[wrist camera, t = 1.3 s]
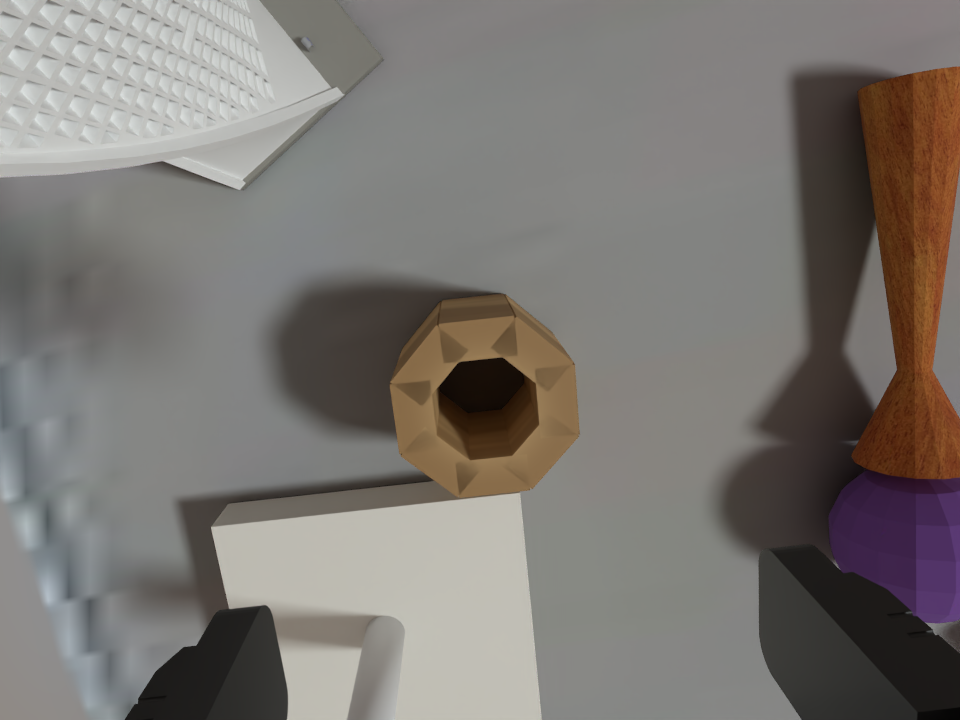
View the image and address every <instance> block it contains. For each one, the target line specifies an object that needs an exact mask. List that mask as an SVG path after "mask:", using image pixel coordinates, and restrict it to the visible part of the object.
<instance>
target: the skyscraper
mask: <svg viewBox="0 0 960 720" xmlns="http://www.w3.org/2000/svg"><path fill="white" fill-rule="evenodd" d="M383 60H384V59H383V57H382V56H381V55H380V54H379V53H378V51H377V50H376V49H375V48H374V46H373V45H372V44H371V43H370V41H369V40H368V39H367V38H366V37H365V35H364V34H363V33H362V32H361V30H360V29H359V28H358V27H357V25H356V24H355V23H354V22H353V21H352V19H351V18H350V17H349V16H348V14H347V13H346V12H345V11H344V10H343V8H342V7H341V6H340V5H339V3H338V2H337V1H336V0H0V177H19V176H40V175H61V174H72V173H81V172H90V171H99V170H108V169H117V168H126V167H132V166H138V165H143V164H149V163H154V162H160V161H164V162H167V163H169V164H172V165H174V166H177V167H180V168H182V169H185V170H187V171H190V172H193V173H195V174H198V175H201V176H203V177H206V178H209V179H211V180H214V181H217V182H219V183H222V184H225V185H227V186H230V187H233V188H235V189H238V190H245V189H246V188H247V187H248V186H249V185H250V184H251V183H252V182H253V181H254V180H255V179H256V178H257V177H258V176H260V175H261V174H262V173H263V172H264V171H265V170H266V169H267V168H268V167H269V166H270V165H271V164H272V163H274V162H275V161H276V160H277V159H278V158H279V157H280V156H281V155H282V154H283V153H284V152H285V151H286V150H288V149H289V148H290V147H291V146H292V145H293V144H294V143H295V142H296V141H297V140H298V139H299V138H300V137H302V136H303V135H304V134H305V133H306V132H307V131H308V130H309V129H310V128H311V127H312V126H313V125H314V124H316V123H317V122H318V121H319V120H320V119H321V118H322V117H323V116H324V115H325V114H326V113H327V112H328V111H330V110H331V109H332V108H333V107H334V106H335V105H336V104H337V103H338V102H339V101H340V100H341V99H342V98H344V97H345V96H346V95H347V94H348V93H349V92H350V91H351V90H352V89H353V88H354V87H355V86H356V85H357V84H359V83H360V82H361V81H362V80H363V79H364V78H365V77H366V76H367V75H368V74H369V73H370V72H371V71H373V70H374V69H375V68H376V67H377V66H378V65H379V64H380V63H381V62H382V61H383Z"/></svg>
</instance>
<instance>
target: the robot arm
mask: <svg viewBox="0 0 960 720" xmlns="http://www.w3.org/2000/svg"><path fill="white" fill-rule="evenodd" d="M759 637H760V643H761V648H762V652H763V655H764V659H765V661H766V664H767V666H768V669H769V671H770V673H771V674H772V676H773V678H774V679H775V681H776V682H777V684H778V685H779V687H780V688H781V689H782V691H783V692H784V694H785V695H786V697H787V698H788V700H789V701H790V703H791V704H792V706H793V707H794V709H795V710H796V712H797V713H798V715H799V716H800V718H801V719H802V720H960V654H959V653H958V652H957V651H956V650H955V649H954V648H953V647H952V646H950V645H949V644H948V643H947V642H946V641H945V640H944V639H943V638H941V637H940V636H939V635H934V633H933V630H932V629H931V628H930V627H929V626H928V625H927V624H926V623H925V622H923V621H922V620H921V619H920V618H919V617H918V616H913V614H912V611H911V610H910V609H909V608H908V607H907V606H906V605H904V604H903V603H902V602H901V601H900V600H899V599H898V598H897V597H895V596H894V595H893V594H892V593H891V592H890V591H889V590H888V589H886V588H884V587H882V586H880V585H878V584H876V583H874V582H872V581H870V580H868V579H866V578H864V577H862V576H860V575H858V574H856V573H854V572H848V573H843V572H842V571H841V570H840V569H838V568H837V567H836V566H835V565H834V564H833V563H832V562H831V561H830V560H829V559H828V558H827V557H826V556H825V555H824V554H823V553H822V552H821V551H820V550H819V549H817V548H816V547H815V546H813V545H810V544H807V545H798V546H789V547H781V548H772V549H765V550H763V551H762V552H761V554H760V557H759ZM287 714H288V690H287V684H286V679H285V674H284V669H283V664H282V659H281V654H280V649H279V644H278V639H277V634H276V629H275V624H274V620H273V615H272V613H271V610H270V608H269V607H268V606H266V605H261V606H252V607H244V608H235V609H226V610H220V611H218V612H217V613H216V614H215V615H214V617H213V618H212V620H211V622H210V624H209V625H208V627H207V629H206V630H205V632H204V634H203V635H202V637H201V639H200V640H199V642H198V644H197V646H190V647H183V648H182V649H181V650H180V651H179V652H178V653H176V654H175V655H174V656H173V657H172V658H171V659H170V660H168V661H167V662H166V663H165V664H164V665H163V666H162V667H160V668H159V669H158V670H157V671H156V672H155V673H154V675H153V677H152V678H151V680H150V681H149V683H148V684H147V686H146V687H145V689H144V691H143V692H142V694H141V695H140V697H139V698H138V704H135V705H134V706H133V708H132V709H131V711H130V712H129V714H128V715H127V717H126V719H125V720H287Z"/></svg>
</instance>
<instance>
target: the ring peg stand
mask: <svg viewBox="0 0 960 720" xmlns="http://www.w3.org/2000/svg"><path fill="white" fill-rule="evenodd" d="M211 530H212V534H213V539H214V543H215V548H216V552H217V557H218V561H219V566H220V570H221V575H222V579H223V584H224V588H225V593H226V597H227V602H228V606H229V609H235V608H244V607H252V606H261V605H266V606H268V607H269V608H270V610H271V613H272V615H273V620H274V624H275V629H276V634H277V639H278V644H279V649H280V654H281V659H282V664H283V669H284V674H285V679H286V684H287V690H288V714H287V720H542V718H541V707H540V697H539V687H538V676H537V666H536V655H535V645H534V634H533V624H532V614H531V603H530V593H529V582H528V572H527V561H526V551H525V541H524V530H523V520H522V509H521V499H520V491H518V492H509V493H499V494H490V495H481V496H472V497H463V498H460V497H459V496H458V497H456V496H455V495H453V494H452V493H451V492H449V491H448V490H447V489H445V488H444V487H442V486H441V485H440V484H438V483H437V482H436V481H430V482H421V483H411V484H402V485H393V486H384V487H375V488H366V489H357V490H348V491H339V492H330V493H321V494H312V495H303V496H294V497H285V498H275V499H266V500H257V501H248V502H239V503H230V504H228V505H227V506H226V508H225V509H224V510H223V512H222V513H221V514H220V516H219V517H218V518H217V520H216V521H215V522H214V524H213V525H212V526H211Z"/></svg>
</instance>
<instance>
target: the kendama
mask: <svg viewBox="0 0 960 720" xmlns="http://www.w3.org/2000/svg"><path fill="white" fill-rule="evenodd" d="M857 93H858V100H859V107H860V114H861V121H862V128H863V135H864V142H865V149H866V156H867V163H868V170H869V177H870V184H871V191H872V198H873V205H874V212H875V219H876V226H877V233H878V240H879V247H880V254H881V261H882V267H883V274H884V281H885V288H886V295H887V302H888V309H889V316H890V323H891V330H892V337H893V344H894V351H895V358H896V365H897V371H896V373H895V375H894V377H893V379H892V380H891V382H890V384H889V386H888V388H887V390H886V392H885V393H884V395H883V397H882V399H881V401H880V403H879V405H878V406H877V408H876V410H875V412H874V414H873V416H872V418H871V419H870V421H869V423H868V425H867V427H866V429H865V431H864V432H863V434H862V436H861V438H860V440H859V442H858V444H857V445H856V447H855V449H854V451H853V453H852V455H851V456H852V458H853V460H854V462H855V463H857V464H859V465H860V466H862V467H864V468H866V469H867V470H866V471H864V472H863V473H862V474H860V475H859V476H857V477H856V478H855V479H853V480H852V481H851V482H849V483H848V484H847V485H846V486H845V487H844V488H843V489H842V490H841V492H840V494H839V496H838V498H837V500H836V502H835V504H834V506H833V508H832V510H831V512H830V514H829V543H830V546H831V550H832V553H833V556H834V558H835V560H836V562H837V564H838V566H839V568H840V570H841V571H842V572H843V573H848V572H854V573H856V574H858V575H860V576H862V577H864V578H866V579H868V580H870V581H872V582H874V583H876V584H878V585H880V586H882V587H884V588H886V589H888V590H889V591H890V592H891V593H892V594H893V595H894V596H895V597H897V598H898V599H899V600H900V601H901V602H902V603H903V604H904V605H906V606H907V607H908V608H909V609H910V610H911V611H912V614H913V616H918V617H919V618H920V619H921V620H922V621H923V622H927V623H945V622H953V621H957V620H959V619H960V419H959V417H958V415H957V413H956V411H955V410H954V408H953V406H952V404H951V403H950V401H949V399H948V397H947V395H946V394H945V392H944V390H943V388H942V387H941V385H940V383H939V381H938V379H937V378H936V376H935V374H934V372H933V371H932V368H933V360H934V353H935V346H936V338H937V331H938V323H939V316H940V308H941V301H942V294H943V286H944V279H945V271H946V264H947V257H948V249H949V242H950V234H951V227H952V220H953V212H954V205H955V197H956V190H957V183H958V175H959V168H960V67H950V68H941V69H934V70H929V71H923V72H917V73H912V74H908V75H903V76H899V77H895V78H890V79H887V80H884V81H880V82H877V83H873V84H870V85H868V86H866V87H863V88H861V89H860V90H859V91H858V92H857Z"/></svg>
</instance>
